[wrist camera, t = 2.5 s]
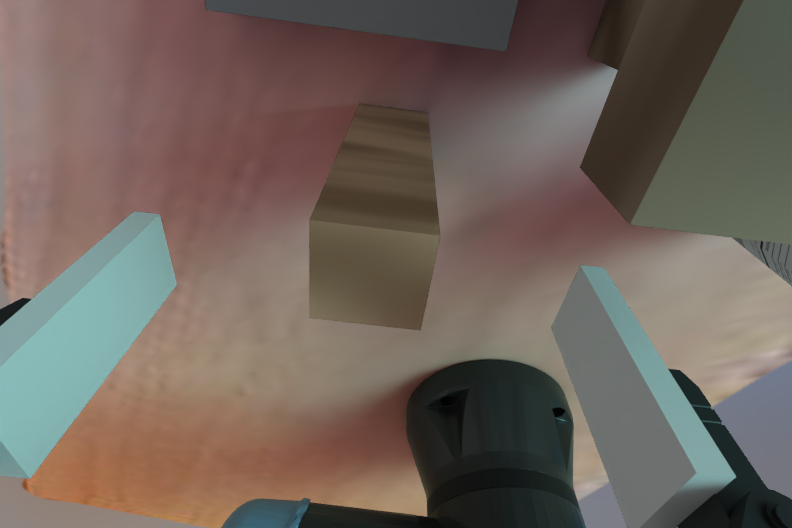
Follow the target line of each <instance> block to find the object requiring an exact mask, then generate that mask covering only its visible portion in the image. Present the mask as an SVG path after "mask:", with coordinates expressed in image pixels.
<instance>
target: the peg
mask: <svg viewBox="0 0 792 528" xmlns="http://www.w3.org/2000/svg"><path fill="white" fill-rule="evenodd" d="M439 240H440V228H439V218H438V208H437V199H436V189H435V179H434V170H433V160H432V151H431V141H430V131H429V122H428V113H426V112H418V111H411V110H403V109H396V108H388V107H380V106H373V105H365V104H359V106H358V108H357V110H356V113H355V115H354V117H353V120H352V122H351V124H350V127H349V129H348V131H347V134H346V136H345V138H344V141H343V143H342V145H341V148H340V150H339V152H338V155H337V157H336V159H335V162H334V164H333V166H332V169H331V171H330V173H329V176H328V178H327V180H326V183H325V185H324V187H323V190H322V192H321V194H320V197H319V199H318V201H317V204H316V206H315V208H314V211H313V213H312V215H311V218H310V220H309V248H310V318H315V319H324V320H333V321H341V322H350V323H359V324H368V325H377V326H386V327H395V328H404V329H413V330H421V326H422V321H423V316H424V311H425V306H426V302H427V297H428V292H429V287H430V283H431V278H432V273H433V268H434V264H435V259H436V254H437V249H438V245H439Z"/></svg>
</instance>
